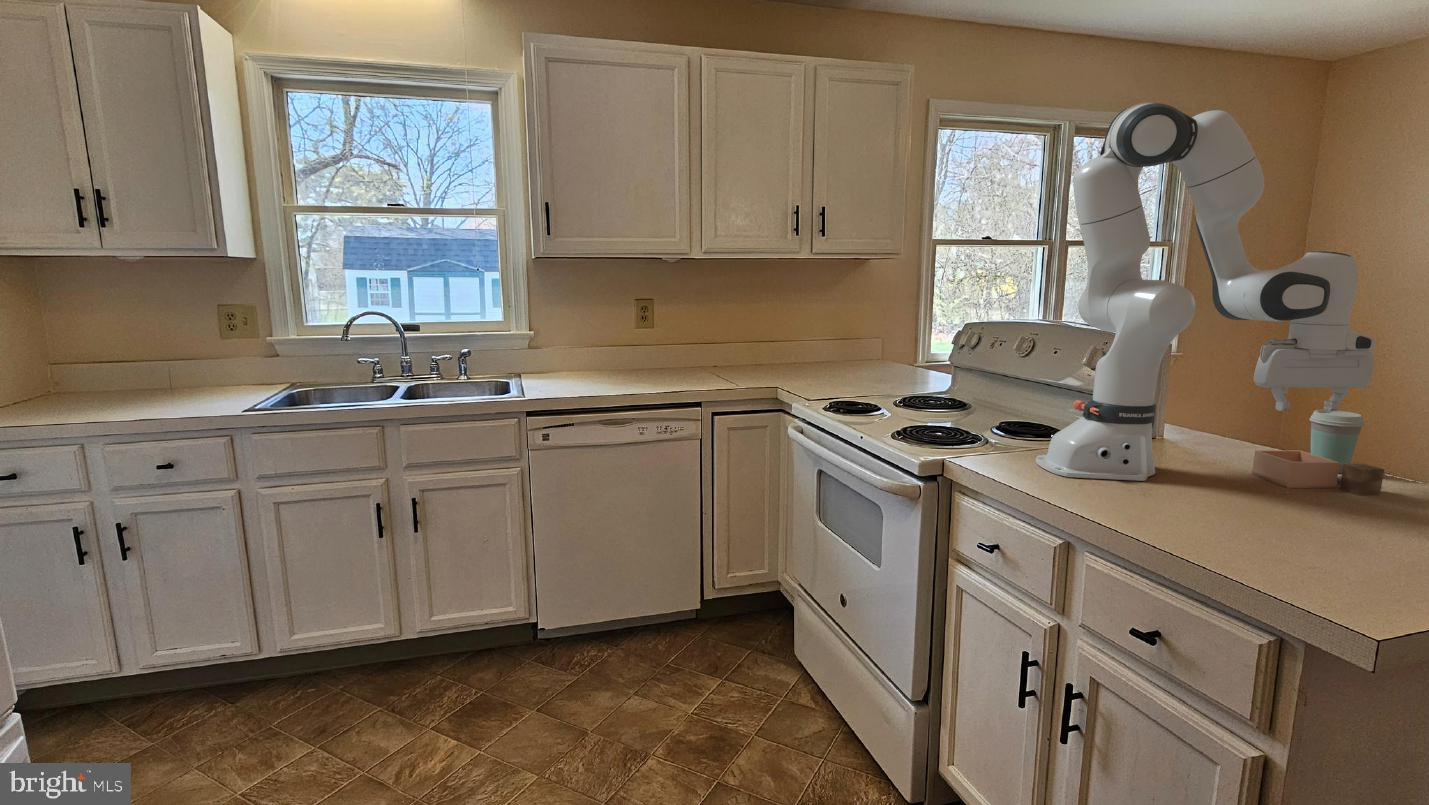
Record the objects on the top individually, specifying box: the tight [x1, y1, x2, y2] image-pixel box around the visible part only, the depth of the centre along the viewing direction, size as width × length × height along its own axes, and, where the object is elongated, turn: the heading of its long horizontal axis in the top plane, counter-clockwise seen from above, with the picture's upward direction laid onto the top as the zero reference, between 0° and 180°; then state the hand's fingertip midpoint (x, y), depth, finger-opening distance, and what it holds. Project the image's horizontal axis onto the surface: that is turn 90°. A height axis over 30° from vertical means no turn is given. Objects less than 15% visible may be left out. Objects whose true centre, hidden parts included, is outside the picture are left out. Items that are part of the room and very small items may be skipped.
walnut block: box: [1339, 463, 1385, 496], centre depth 134 cm, size 4×4×5 cm
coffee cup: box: [1309, 409, 1365, 474], centre depth 148 cm, size 9×8×12 cm
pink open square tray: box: [1251, 449, 1340, 489], centre depth 140 cm, size 9×9×5 cm
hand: (1306, 410), depth 138 cm, fingers open, 8 cm apart
